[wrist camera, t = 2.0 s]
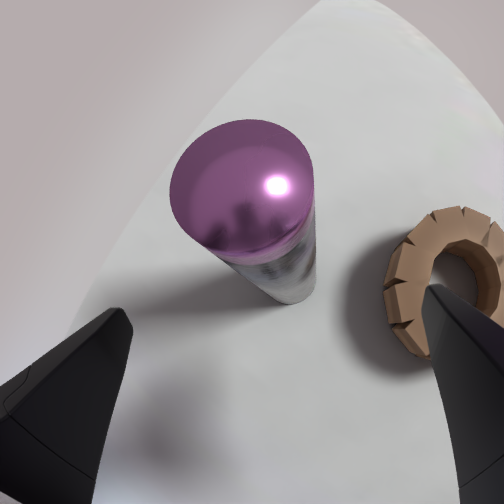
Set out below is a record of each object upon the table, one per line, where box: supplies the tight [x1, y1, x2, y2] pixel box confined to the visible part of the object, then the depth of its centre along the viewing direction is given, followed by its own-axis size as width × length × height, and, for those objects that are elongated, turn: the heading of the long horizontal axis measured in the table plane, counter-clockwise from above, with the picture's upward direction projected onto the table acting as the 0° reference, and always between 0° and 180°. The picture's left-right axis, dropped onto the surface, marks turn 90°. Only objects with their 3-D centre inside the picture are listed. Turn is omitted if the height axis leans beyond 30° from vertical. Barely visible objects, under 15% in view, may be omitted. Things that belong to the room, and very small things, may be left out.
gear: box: [383, 206, 504, 360], centre depth 15 cm, size 9×9×3 cm
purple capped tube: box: [170, 119, 316, 304], centre depth 13 cm, size 3×3×13 cm
